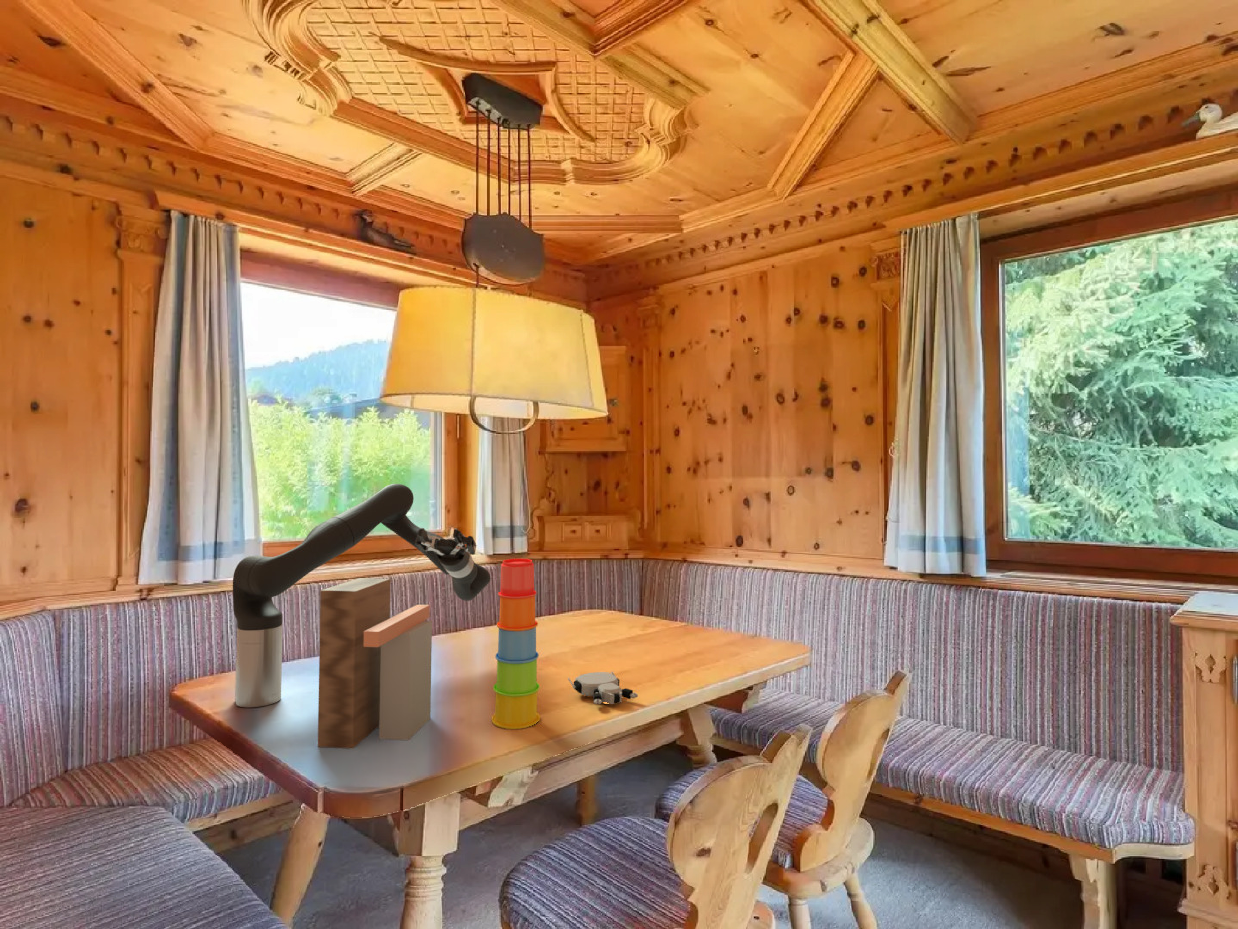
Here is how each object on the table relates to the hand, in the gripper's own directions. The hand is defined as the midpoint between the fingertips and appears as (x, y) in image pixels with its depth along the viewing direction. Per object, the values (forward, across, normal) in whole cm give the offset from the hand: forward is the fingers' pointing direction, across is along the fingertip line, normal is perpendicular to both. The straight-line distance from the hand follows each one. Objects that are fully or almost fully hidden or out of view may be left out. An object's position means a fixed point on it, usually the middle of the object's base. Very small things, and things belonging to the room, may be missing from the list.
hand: (438, 531), depth 163 cm
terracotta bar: (+14, +2, +29) cm, 32 cm away
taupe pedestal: (0, +2, +45) cm, 45 cm away
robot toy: (-21, +41, +33) cm, 56 cm away
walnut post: (+3, -7, +47) cm, 47 cm away
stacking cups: (-6, +24, +42) cm, 48 cm away
